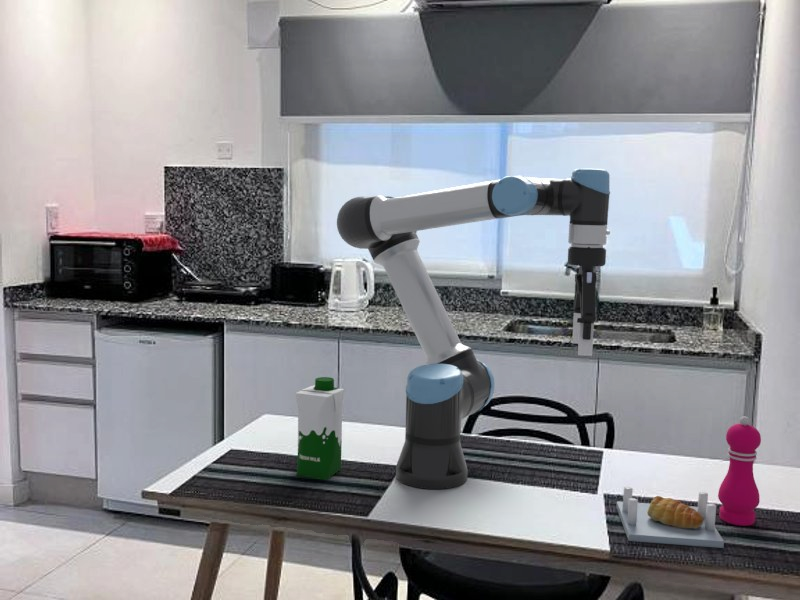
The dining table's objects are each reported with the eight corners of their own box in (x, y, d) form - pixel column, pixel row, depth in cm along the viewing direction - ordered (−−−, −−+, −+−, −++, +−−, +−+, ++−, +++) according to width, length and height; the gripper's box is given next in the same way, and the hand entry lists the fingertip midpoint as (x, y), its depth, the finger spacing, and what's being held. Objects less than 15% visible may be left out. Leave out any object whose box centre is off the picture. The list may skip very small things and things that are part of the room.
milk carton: (346, 469, 177) (348, 379, 174) (327, 482, 168) (328, 387, 166) (310, 463, 180) (311, 374, 177) (290, 476, 172) (291, 383, 169)
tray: (628, 540, 143) (630, 509, 142) (616, 507, 159) (618, 478, 158) (723, 547, 141) (726, 516, 140) (701, 513, 157) (703, 484, 156)
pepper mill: (709, 512, 157) (717, 411, 155) (745, 512, 158) (753, 411, 156) (727, 527, 150) (735, 421, 148) (765, 526, 151) (774, 421, 148)
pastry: (708, 523, 149) (709, 503, 148) (694, 535, 143) (696, 514, 143) (658, 510, 155) (659, 490, 154) (643, 520, 149) (644, 500, 149)
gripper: (614, 250, 153) (608, 361, 155) (599, 243, 177) (593, 339, 180) (573, 248, 153) (567, 359, 156) (564, 242, 178) (559, 338, 181)
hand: (581, 349), depth 168 cm, fingers open, 13 cm apart
